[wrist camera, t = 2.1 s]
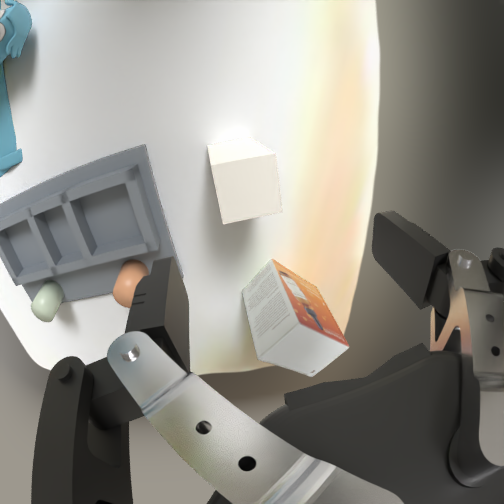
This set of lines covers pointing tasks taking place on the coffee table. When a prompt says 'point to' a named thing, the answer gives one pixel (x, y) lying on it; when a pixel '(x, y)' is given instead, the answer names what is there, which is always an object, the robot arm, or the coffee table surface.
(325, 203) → the coffee table surface
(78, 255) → the grey compartment tray
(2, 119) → the blue yellow plastic figure
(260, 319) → the small box
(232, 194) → the plug
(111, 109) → the coffee table surface
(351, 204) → the coffee table surface
